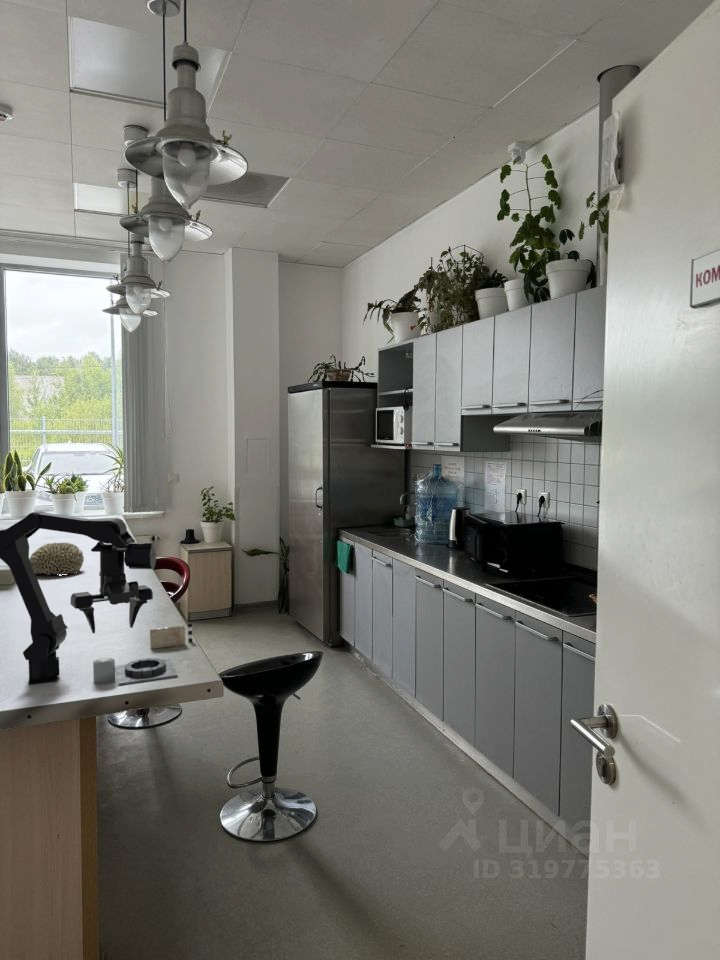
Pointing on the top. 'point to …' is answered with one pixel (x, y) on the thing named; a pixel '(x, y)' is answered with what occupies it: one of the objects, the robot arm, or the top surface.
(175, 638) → the cuneiform tablet
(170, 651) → the top surface
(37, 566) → the coral
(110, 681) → the cap
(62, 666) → the top surface
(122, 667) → the notched ring on plate
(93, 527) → the robot arm
